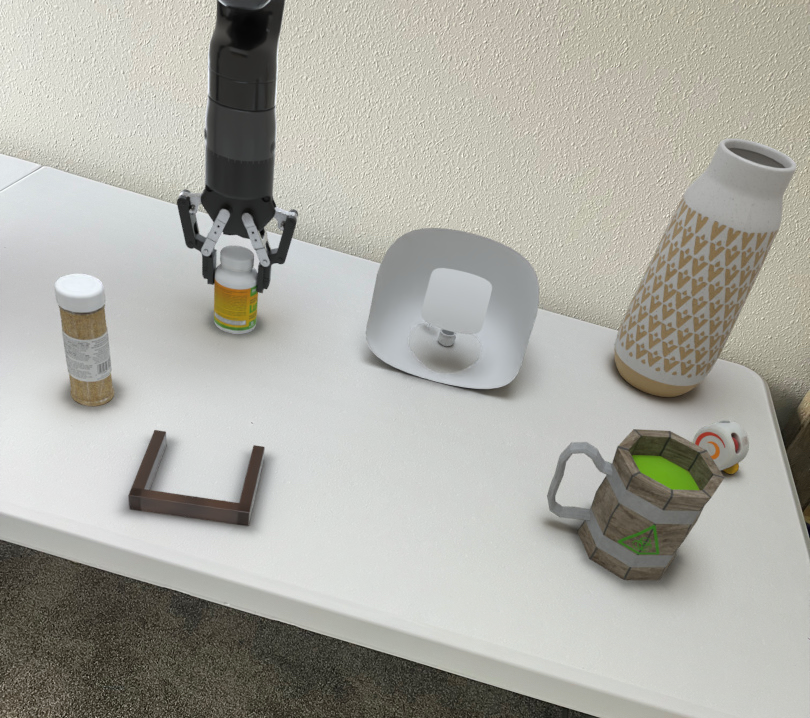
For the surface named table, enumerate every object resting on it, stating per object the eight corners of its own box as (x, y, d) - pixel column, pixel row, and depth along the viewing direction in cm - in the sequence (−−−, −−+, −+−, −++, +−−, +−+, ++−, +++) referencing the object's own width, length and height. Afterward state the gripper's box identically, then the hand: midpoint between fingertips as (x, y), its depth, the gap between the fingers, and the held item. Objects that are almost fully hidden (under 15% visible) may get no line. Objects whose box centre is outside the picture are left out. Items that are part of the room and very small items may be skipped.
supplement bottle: (255, 337, 100) (259, 266, 93) (211, 332, 99) (212, 260, 92) (257, 315, 103) (261, 245, 96) (215, 310, 102) (216, 239, 95)
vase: (587, 350, 113) (678, 125, 91) (666, 349, 117) (769, 134, 96) (634, 409, 104) (746, 175, 83) (716, 404, 109) (842, 182, 87)
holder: (129, 510, 75) (128, 495, 74) (155, 444, 82) (154, 429, 81) (248, 527, 76) (249, 512, 75) (263, 460, 84) (264, 446, 82)
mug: (672, 527, 88) (721, 445, 80) (674, 596, 81) (728, 513, 72) (538, 488, 89) (573, 402, 80) (527, 552, 81) (564, 465, 73)
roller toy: (703, 443, 101) (724, 407, 97) (741, 474, 98) (764, 438, 94) (681, 452, 99) (702, 415, 95) (719, 483, 96) (742, 446, 92)
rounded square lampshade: (520, 329, 114) (545, 252, 105) (510, 402, 100) (537, 320, 92) (387, 294, 114) (401, 214, 105) (358, 363, 100) (372, 277, 92)
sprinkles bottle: (95, 378, 88) (82, 267, 79) (123, 397, 87) (114, 286, 77) (61, 394, 85) (43, 280, 76) (89, 413, 84) (75, 300, 74)
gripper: (309, 144, 89) (297, 281, 101) (181, 118, 87) (183, 261, 99) (302, 169, 83) (290, 311, 95) (165, 143, 82) (170, 290, 94)
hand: (236, 285), depth 97 cm, fingers closed on supplement bottle, 5 cm apart
